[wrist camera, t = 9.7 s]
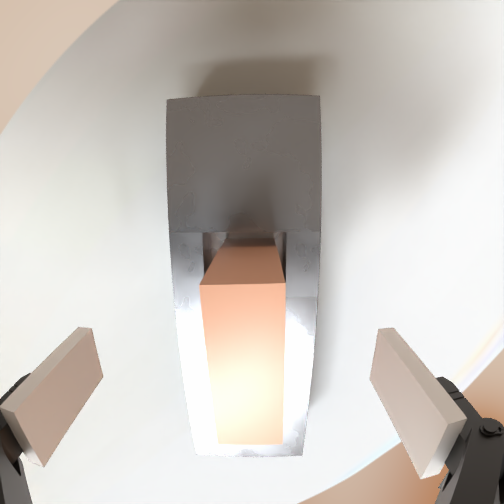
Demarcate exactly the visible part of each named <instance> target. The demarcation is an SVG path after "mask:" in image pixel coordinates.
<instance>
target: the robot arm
mask: <svg viewBox="0 0 504 504" xmlns="http://www.w3.org/2000/svg"><path fill="white" fill-rule="evenodd" d="M102 378H103V373H102V369H101V366H100V362H99V358H98V354H97V350H96V345H95V341H94V336H93V332H92V328H83V327H78V328H77V329H76V330H75V331H74V332H73V333H72V334H71V335H70V336H69V337H68V338H67V339H66V340H65V341H63V342H62V343H61V344H60V345H59V346H58V347H57V348H56V349H55V350H54V351H53V352H52V353H51V354H50V355H49V356H48V357H47V358H46V359H45V360H44V361H43V362H42V363H41V364H40V365H39V366H38V367H37V368H36V369H35V370H34V371H33V372H32V373H29V374H27V375H25V376H23V377H22V378H20V379H19V380H18V381H17V382H16V383H15V384H14V386H12V387H11V388H10V389H9V392H8V391H7V392H6V393H5V394H4V395H3V397H2V398H1V399H0V504H32V500H31V497H30V493H29V489H28V485H27V481H26V477H25V473H24V468H23V464H22V461H21V459H20V458H19V456H20V454H21V453H22V452H23V453H24V454H25V456H26V458H27V459H28V461H29V462H31V463H34V464H36V465H39V466H42V467H45V465H46V463H47V462H48V460H49V459H50V457H51V455H52V454H53V452H54V451H55V449H56V448H57V446H58V444H59V443H60V441H61V440H62V438H63V437H64V435H65V433H66V432H67V430H68V429H69V427H70V426H71V424H72V423H73V421H74V420H75V418H76V417H77V415H78V414H79V412H80V411H81V409H82V407H83V406H84V404H85V403H86V402H87V400H88V399H89V397H90V396H91V394H92V393H93V391H94V390H95V388H96V387H97V385H98V384H99V382H100V381H101V379H102ZM370 381H371V383H372V385H373V386H374V388H375V390H376V392H377V394H378V396H379V398H380V400H381V402H382V404H383V405H384V407H385V409H386V411H387V413H388V415H389V417H390V419H391V421H392V423H393V425H394V427H395V429H396V431H397V433H398V435H399V437H400V439H401V441H402V443H403V445H404V446H405V449H406V451H407V453H408V455H409V457H410V459H411V461H412V463H413V465H414V467H415V469H416V471H417V473H418V475H419V477H420V479H424V478H427V477H430V476H434V475H437V474H439V473H440V471H441V469H442V467H443V466H444V464H446V466H447V468H448V469H449V471H448V473H447V474H446V476H445V478H444V479H443V481H442V483H441V484H440V486H439V487H438V488H440V492H439V495H438V497H437V500H436V502H435V504H504V427H503V425H502V424H501V423H500V422H498V421H497V420H494V419H492V418H482V417H481V416H480V415H479V414H478V412H477V411H476V410H475V409H474V408H473V406H472V405H471V404H470V403H469V402H468V400H467V399H466V398H464V396H463V394H462V393H461V392H459V390H458V388H457V387H456V386H455V385H454V384H453V383H452V382H451V381H449V380H447V379H446V378H444V377H438V378H435V377H434V376H433V374H432V373H431V372H430V371H429V369H428V368H427V367H426V366H425V365H424V363H423V362H422V361H421V360H420V359H419V357H418V356H417V355H416V354H415V353H414V351H413V350H412V349H411V348H410V347H409V345H408V344H407V343H406V342H405V341H404V339H403V338H402V337H401V336H400V335H399V334H398V332H397V331H396V330H395V329H394V328H384V329H378V334H377V341H376V347H375V352H374V358H373V363H372V369H371V374H370Z"/></svg>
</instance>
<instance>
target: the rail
mask: <svg viewBox="0 0 504 504" xmlns="http://www.w3.org/2000/svg"><path fill="white" fill-rule="evenodd" d="M166 157H167V197H168V220H169V238H170V254H171V268H172V280H173V291H174V302H175V312H176V322H177V331H178V339H179V347H180V355H181V363H182V370H183V377H184V384H185V391H186V398H187V404H188V410H189V416H190V422H191V428H192V433H193V439H194V444H195V449H196V454H202V455H217V456H243V457H275V456H301V455H302V453H303V446H304V438H305V431H306V423H307V415H308V406H309V397H310V388H311V378H312V368H313V357H314V345H315V332H316V318H317V303H318V285H319V265H320V237H321V114H320V96H312V95H281V94H252V95H221V96H204V97H191V98H179V99H169V100H167V114H166ZM238 238H275V243H276V246H277V249H278V253H279V258H280V262H281V266H282V270H283V274H284V279H285V283H286V314H285V385H284V421H283V444H277V445H220V444H218V442H217V435H216V429H215V422H214V415H213V407H212V400H211V392H210V384H209V376H208V368H207V360H206V351H205V342H204V332H203V322H202V312H201V302H200V290H199V284H200V282H201V280H202V279H203V277H204V275H205V273H206V271H207V270H208V268H209V266H210V264H211V262H212V260H213V259H214V257H215V255H216V253H217V251H218V250H219V248H221V246H222V244H223V242H224V241H225V239H238Z"/></svg>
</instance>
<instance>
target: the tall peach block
mask: <svg viewBox="0 0 504 504" xmlns="http://www.w3.org/2000/svg"><path fill="white" fill-rule="evenodd" d="M199 290H200V302H201V312H202V322H203V332H204V342H205V351H206V360H207V368H208V376H209V384H210V392H211V400H212V407H213V415H214V422H215V429H216V435H217V442H218V444H220V445H277V444H283V421H284V385H285V314H286V283H285V279H284V274H283V270H282V266H281V262H280V258H279V253H278V249H277V246H276V243H275V238H238V239H225V241H224V242H223V244H222V246H221V248H219V250H218V251H217V253H216V255H215V257H214V259H213V260H212V262H211V264H210V266H209V268H208V270H207V271H206V273H205V275H204V277H203V279H202V280H201V282H200V284H199Z"/></svg>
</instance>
